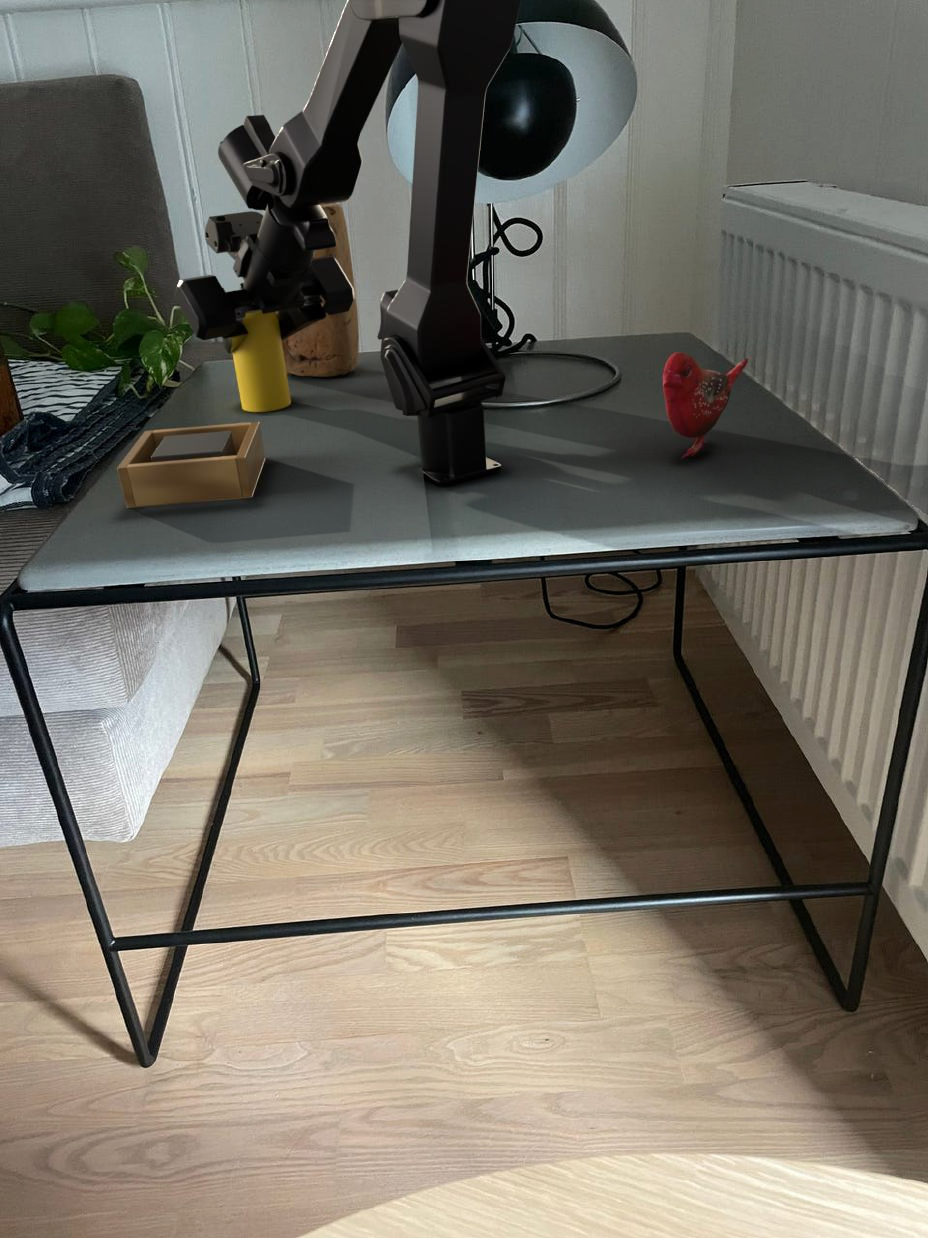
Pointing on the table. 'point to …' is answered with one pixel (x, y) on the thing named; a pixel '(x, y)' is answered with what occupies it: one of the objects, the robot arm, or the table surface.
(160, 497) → the crate
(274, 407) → the lemon bottle
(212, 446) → the grey block
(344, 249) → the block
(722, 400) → the decorative bird figurine
